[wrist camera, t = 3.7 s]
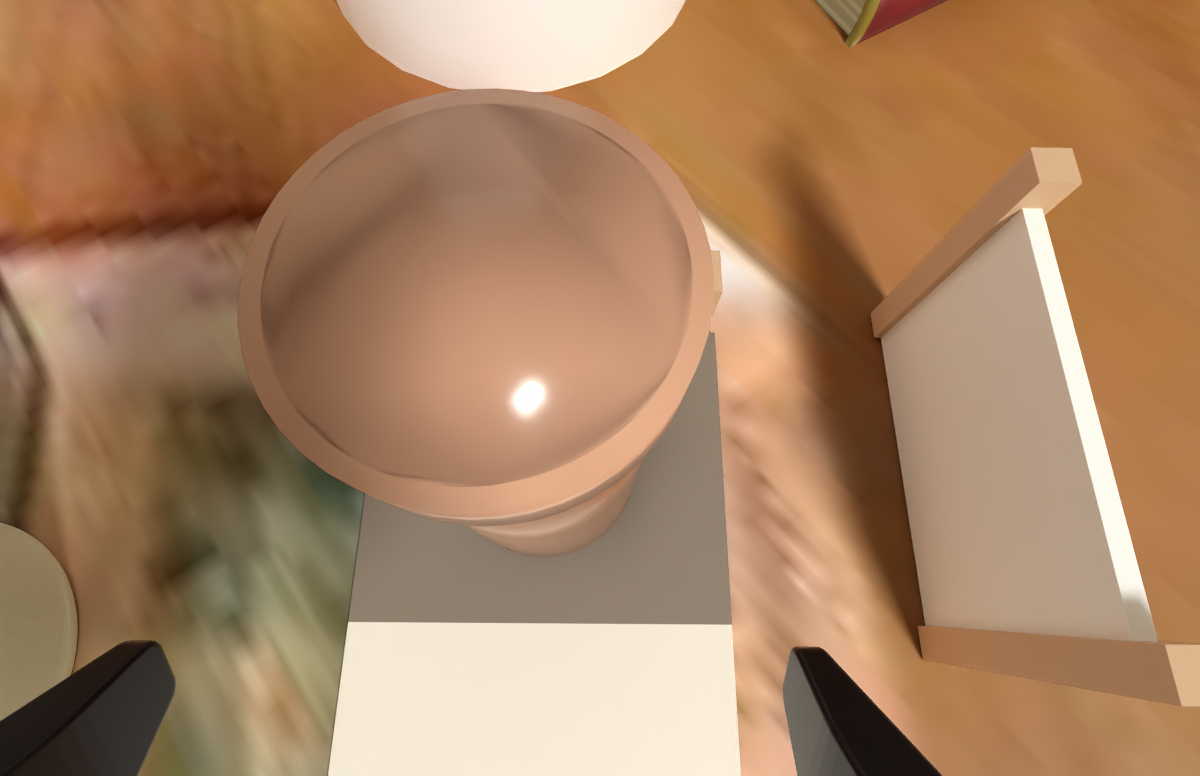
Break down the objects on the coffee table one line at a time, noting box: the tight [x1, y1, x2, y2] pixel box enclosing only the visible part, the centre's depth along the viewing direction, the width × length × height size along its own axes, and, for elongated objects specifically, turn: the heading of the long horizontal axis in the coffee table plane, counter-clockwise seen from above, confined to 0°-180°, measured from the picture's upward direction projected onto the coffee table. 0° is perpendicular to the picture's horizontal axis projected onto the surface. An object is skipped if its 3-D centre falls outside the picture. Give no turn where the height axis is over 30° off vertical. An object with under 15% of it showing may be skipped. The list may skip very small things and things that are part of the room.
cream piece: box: [328, 148, 1200, 776], centre depth 16 cm, size 21×19×9 cm
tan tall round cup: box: [238, 88, 714, 557], centre depth 15 cm, size 7×7×13 cm
